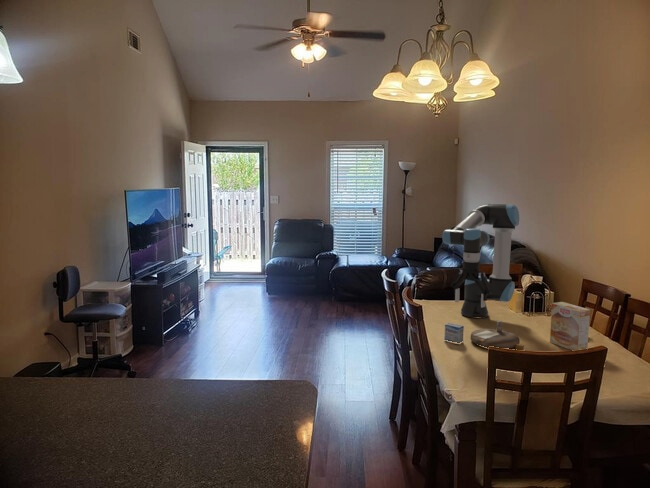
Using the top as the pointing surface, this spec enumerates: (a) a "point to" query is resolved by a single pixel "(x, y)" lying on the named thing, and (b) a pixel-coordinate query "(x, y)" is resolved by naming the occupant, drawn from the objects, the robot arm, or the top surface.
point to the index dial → (495, 337)
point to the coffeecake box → (569, 326)
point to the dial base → (518, 347)
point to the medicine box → (454, 332)
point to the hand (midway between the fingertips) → (469, 304)
